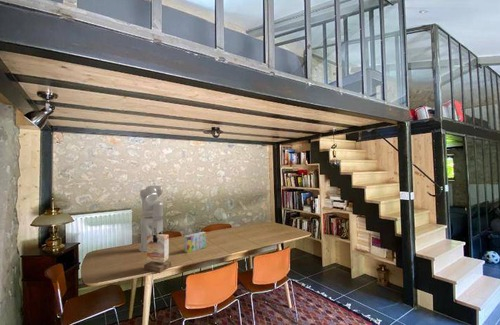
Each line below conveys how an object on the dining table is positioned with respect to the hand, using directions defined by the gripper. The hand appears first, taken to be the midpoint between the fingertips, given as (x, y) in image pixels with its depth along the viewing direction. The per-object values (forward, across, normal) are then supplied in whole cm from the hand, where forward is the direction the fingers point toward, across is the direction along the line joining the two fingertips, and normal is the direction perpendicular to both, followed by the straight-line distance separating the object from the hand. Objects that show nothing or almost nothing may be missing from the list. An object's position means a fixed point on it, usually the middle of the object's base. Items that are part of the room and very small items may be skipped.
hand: (157, 240), depth 189 cm
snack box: (+22, -44, +15) cm, 51 cm away
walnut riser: (+22, 0, 0) cm, 22 cm away
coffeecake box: (+15, 0, 0) cm, 15 cm away
